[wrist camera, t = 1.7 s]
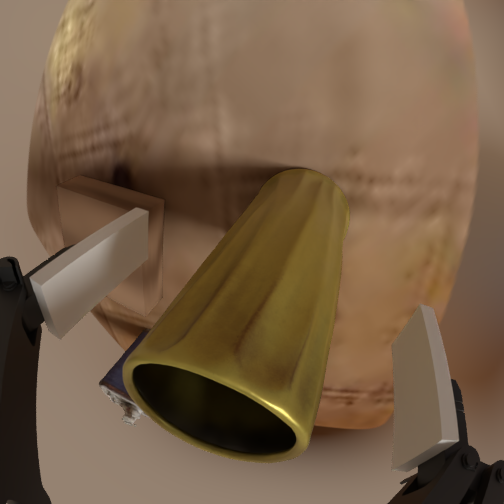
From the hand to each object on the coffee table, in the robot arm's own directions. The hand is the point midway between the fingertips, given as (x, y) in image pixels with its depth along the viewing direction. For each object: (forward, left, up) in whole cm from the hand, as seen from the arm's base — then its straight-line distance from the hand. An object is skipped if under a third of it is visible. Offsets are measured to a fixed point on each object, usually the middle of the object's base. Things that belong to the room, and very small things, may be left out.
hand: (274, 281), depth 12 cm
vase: (0, 0, -7) cm, 7 cm away
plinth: (+7, -15, -7) cm, 18 cm away
